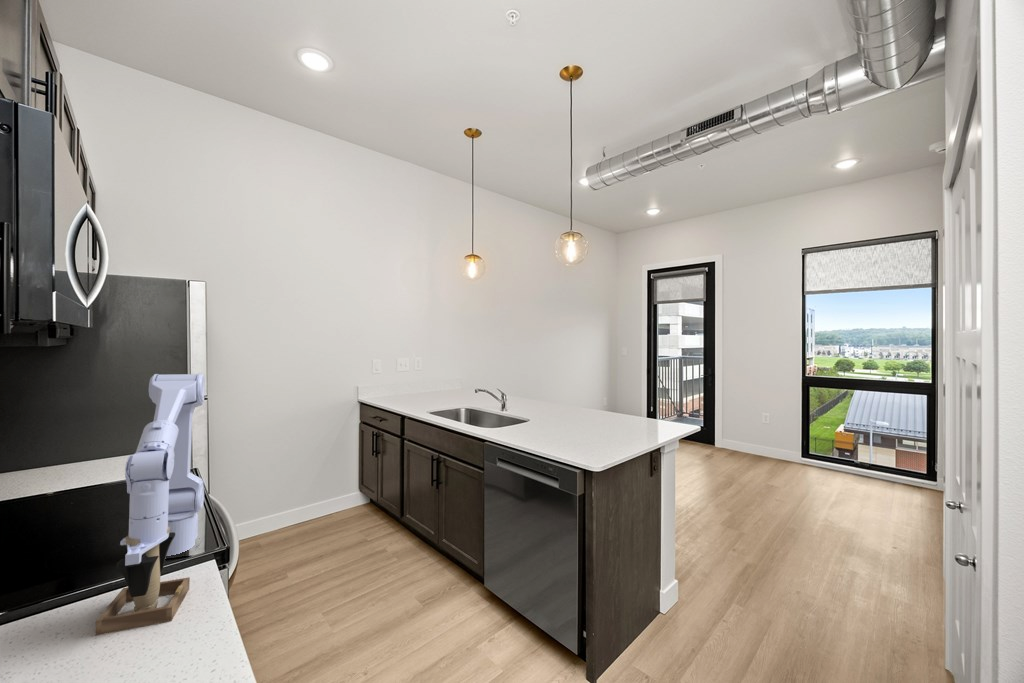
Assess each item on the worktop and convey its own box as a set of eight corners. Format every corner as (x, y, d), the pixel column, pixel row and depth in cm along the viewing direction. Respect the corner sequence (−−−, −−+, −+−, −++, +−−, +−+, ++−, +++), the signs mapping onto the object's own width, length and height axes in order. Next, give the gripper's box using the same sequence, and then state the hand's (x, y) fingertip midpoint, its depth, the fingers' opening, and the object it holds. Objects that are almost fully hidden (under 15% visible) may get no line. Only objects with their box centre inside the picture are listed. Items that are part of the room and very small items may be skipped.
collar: (122, 600, 84) (123, 585, 84) (189, 589, 88) (189, 574, 88) (95, 635, 74) (95, 617, 74) (171, 620, 78) (172, 604, 78)
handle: (118, 616, 79) (120, 536, 79) (159, 598, 85) (161, 523, 85) (131, 624, 77) (133, 542, 77) (172, 605, 83) (174, 528, 83)
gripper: (138, 502, 86) (136, 569, 86) (103, 532, 73) (101, 611, 73) (180, 498, 89) (179, 562, 89) (154, 526, 76) (152, 602, 76)
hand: (147, 584), depth 81 cm, fingers open, 7 cm apart
